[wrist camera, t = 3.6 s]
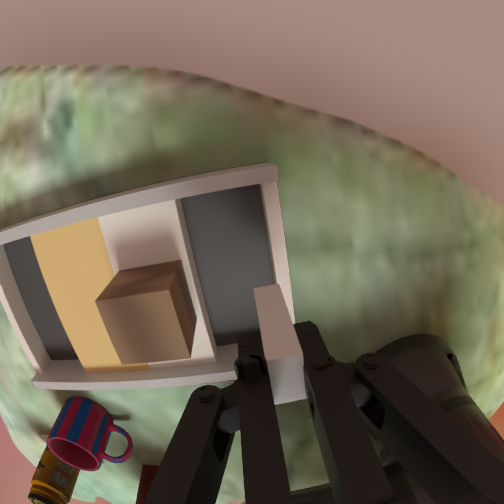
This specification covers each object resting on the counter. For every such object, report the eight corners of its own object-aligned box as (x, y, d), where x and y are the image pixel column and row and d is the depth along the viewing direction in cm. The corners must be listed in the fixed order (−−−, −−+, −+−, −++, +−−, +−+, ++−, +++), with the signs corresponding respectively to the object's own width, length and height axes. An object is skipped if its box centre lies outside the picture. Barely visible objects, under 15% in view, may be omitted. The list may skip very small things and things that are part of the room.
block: (181, 259, 22) (168, 289, 17) (197, 318, 24) (190, 358, 19) (119, 270, 22) (94, 301, 17) (138, 326, 24) (121, 364, 19)
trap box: (269, 162, 23) (277, 164, 19) (293, 340, 28) (302, 367, 24) (-6, 231, 22) (-31, 243, 19) (49, 366, 28) (35, 388, 24)
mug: (60, 390, 29) (39, 429, 22) (136, 409, 30) (124, 455, 24) (71, 423, 31) (55, 461, 25) (141, 441, 32) (132, 483, 26)
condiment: (39, 434, 32) (13, 490, 21) (74, 433, 32) (49, 499, 20) (68, 461, 34) (49, 517, 23) (105, 462, 34) (88, 525, 23)
